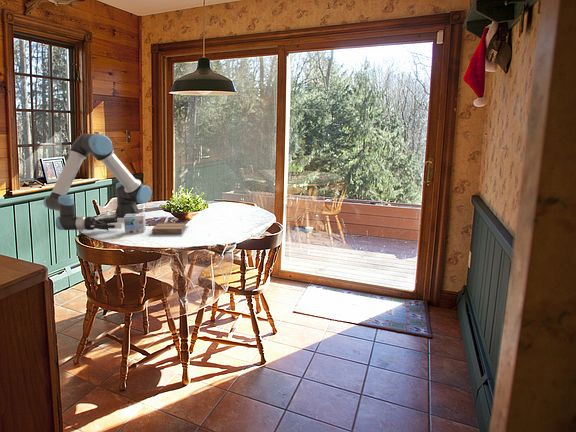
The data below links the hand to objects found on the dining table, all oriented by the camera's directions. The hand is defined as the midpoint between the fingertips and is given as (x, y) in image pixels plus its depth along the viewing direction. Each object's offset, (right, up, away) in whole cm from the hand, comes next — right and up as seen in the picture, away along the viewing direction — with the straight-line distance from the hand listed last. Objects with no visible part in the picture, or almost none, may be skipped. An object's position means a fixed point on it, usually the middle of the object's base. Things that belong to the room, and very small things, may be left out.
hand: (125, 223), depth 232 cm
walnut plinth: (+24, -5, +4) cm, 25 cm away
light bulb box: (+5, -6, +2) cm, 8 cm away
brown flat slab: (+24, -6, +4) cm, 25 cm away
